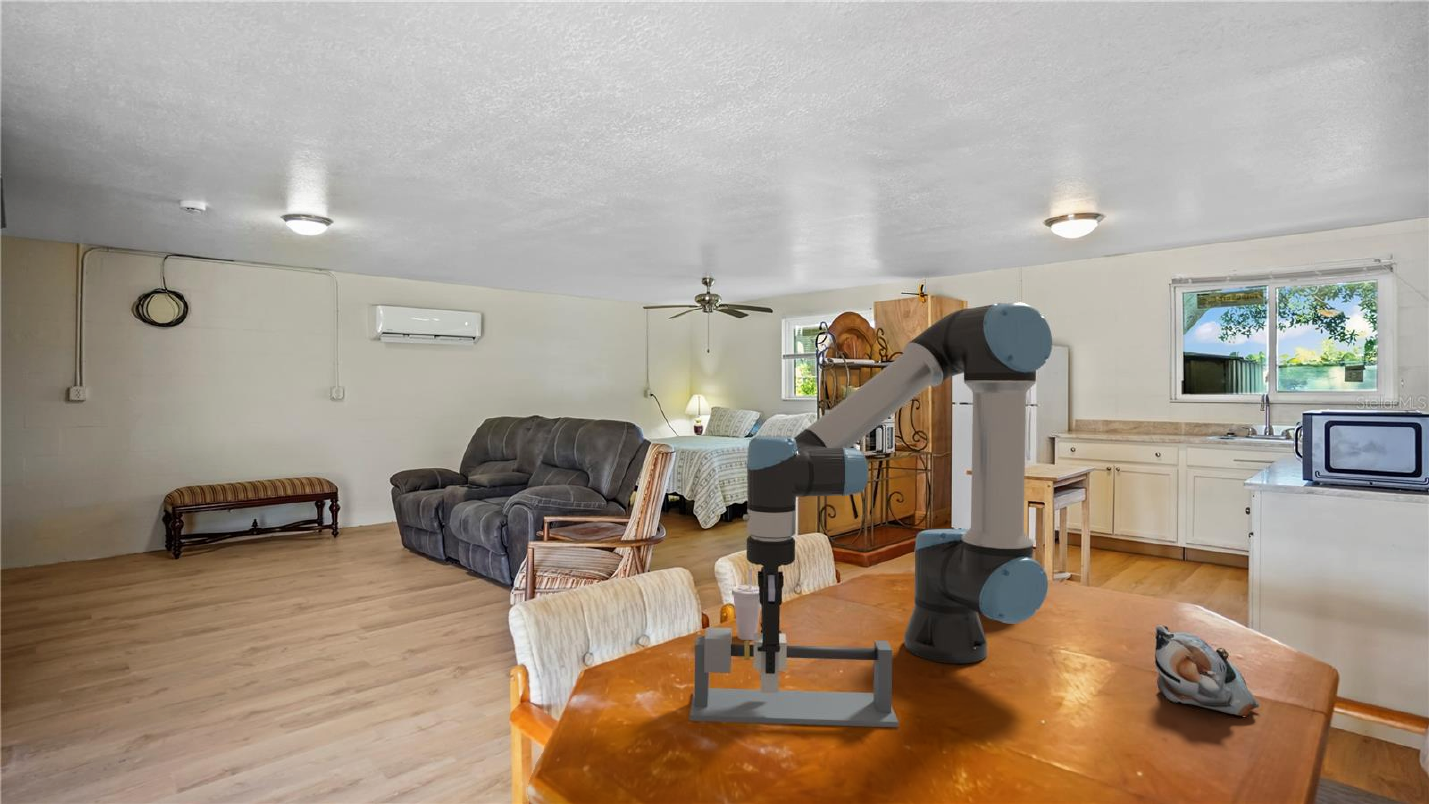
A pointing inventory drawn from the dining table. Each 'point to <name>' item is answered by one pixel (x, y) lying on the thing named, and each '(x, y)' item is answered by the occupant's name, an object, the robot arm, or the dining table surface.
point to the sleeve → (758, 654)
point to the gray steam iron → (1199, 674)
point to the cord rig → (790, 704)
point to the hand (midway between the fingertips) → (769, 685)
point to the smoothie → (746, 609)
